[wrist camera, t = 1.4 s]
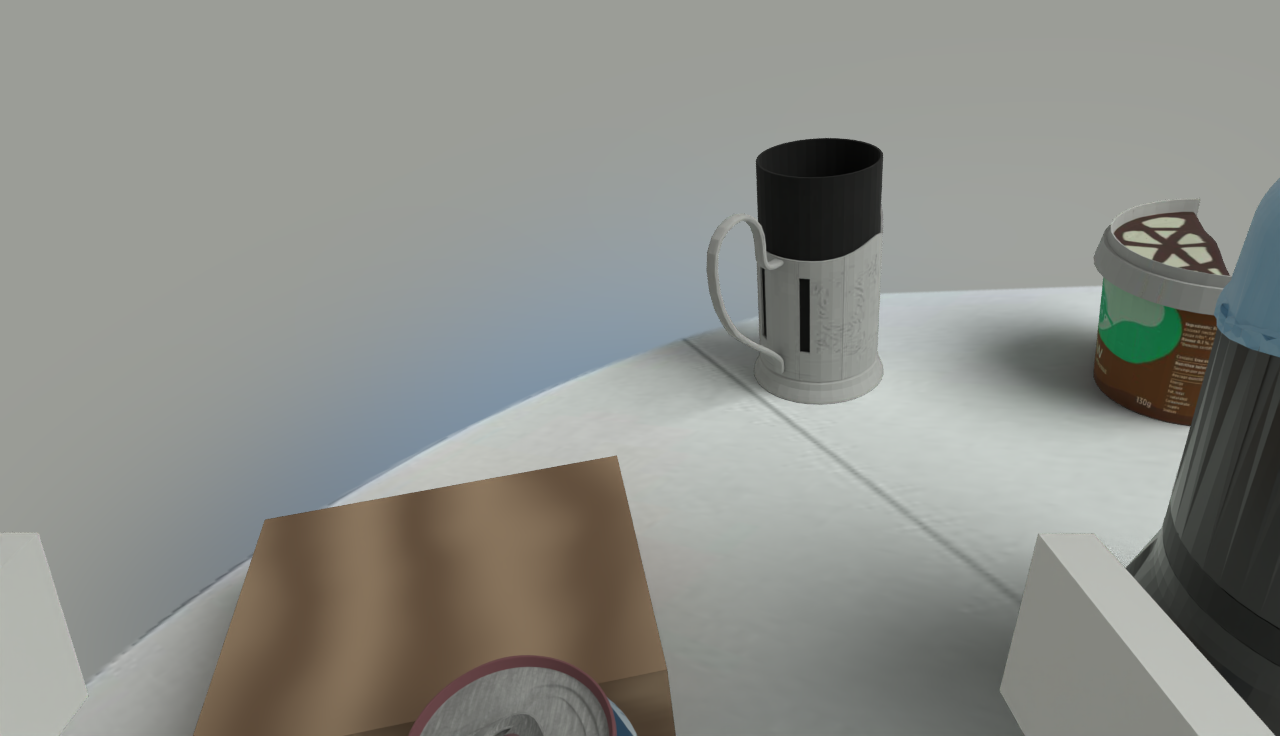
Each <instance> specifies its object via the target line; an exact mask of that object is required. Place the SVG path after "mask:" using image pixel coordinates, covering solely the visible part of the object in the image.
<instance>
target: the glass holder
mask: <svg viewBox="0 0 1280 736" xmlns="http://www.w3.org/2000/svg"><path fill="white" fill-rule="evenodd" d="M882 169H883V153H882V151H881V150H880V149H879V148H877V147H876V146H874V145H871V144H869V143H865V142H861V141H856V140H849V139H838V138H821V139H820V138H819V139H806V140H799V141H793V142H788V143H784V144H781V145H777V146H774V147H772V148H769V149H767V150H765V151H764V152H762V153H761V154H760V155H759V156H758V157H757V159H756V173H757V174H756V175H757V203H758V221H757V220H756V219H755V218H753V217H751V216H749V215H746V214H734V215H732V216H730V217H728V218H727V219H725V220H724V221H723V222H722V223H721V224H720V225H719V226H718V227H717V229H716V231H715V232H714V234H713V236H712V238H711V241H710V244H709V248H708V252H707V277H708V285H709V292H710V296H711V299H712V302H713V306H714V309H715V311H716V313H717V315H718V317H719V319H720V321H721V323H722V325H723V326H724V328H725V329H726V331H727V332H728V333H729V335H731V336H732V337H734V338H735V339H736V340H738V341H740V342H742V343H744V344H746V345H747V346H749V347H751V348H753V349H755V350H758V351H760V354H759V357H758V358H757V360H756V363H755V367H754V373H755V377H756V379H757V381H758V383H759V384H760V385H761V386H762V387H763V388H764V389H765V390H767V391H768V392H770V393H772V394H774V395H775V396H778V397H780V398H783V399H786V400H790V401H794V402H798V403H806V404H833V403H839V402H845V401H849V400H852V399H856V398H858V397H860V396H863V395H865V394H867V393H868V392H870V391H872V390H873V389H874V388H875V387H876V386H877V385H878V384H879V382H880V381H881V380H882V376H883V365H882V362H881V360H880V357H879V356H878V351H877V348H878V326H879V304H880V280H881V259H882V237H883V236H882V235H883V212H882V205H881V192H882ZM740 221H745V222H746V223H747V224H748V225H749V226H750V228H751V231H752V233H753V238H754V244H755V256H756V261H757V282H758V310H759V337H760V345H759V344H757V343H755V342H753V341H751V340H750V339H748V338H747V337H745V336H744V335H742V334H741V333H740V332H739V331H738V330H737V328H736V327H735V326H734V324H733V323H732V321H731V319H730V317H729V315H728V313H727V311H726V309H725V306H724V302H723V299H722V296H721V292H720V284H719V276H718V255H719V251H720V247H721V244H722V241H723V239H724V238H725V236H726V234H727V233H728V231H729V230H730V229H731V228H732V227H733V226H734V225H736V224H737V223H739V222H740Z"/></svg>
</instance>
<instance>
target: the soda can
mask: <svg viewBox="0 0 1280 736" xmlns="http://www.w3.org/2000/svg"><path fill="white" fill-rule="evenodd" d="M408 736H637V734H636V732H635V730H634V728H633V726H632V724H631V723H630V721H629V720H628V718H627V717H626V716H625V714H624V713H623V712H622V711H621V710H620V709H619V708H618V706H617V705H616V704H614V703H613V702H612V701H611V700H610V699H609V698H607V696H606V695H605V693H604V691H603V690H602V689H601V687H600V686H599V685H598V684H597V682H596V681H595V680H594V679H593V678H591V677H590V676H589V675H588V674H587V673H585V672H584V671H583V670H581V669H579V668H578V667H576V666H574V665H572V664H570V663H567V662H565V661H562V660H559V659H555V658H551V657H545V656H537V655H518V656H509V657H504V658H500V659H496V660H493V661H490V662H488V663H485V664H482V665H480V666H478V667H476V668H474V669H472V670H470V671H468V672H466V673H465V674H463V675H461V676H460V677H458V678H456V679H455V680H454V681H452V682H451V683H449V684H448V685H447V686H446V687H444V688H443V689H442V690H441V691H440V692H439V693H438V694H437V695H436V696H435V697H434V698H433V699H432V700H431V701H430V702H429V703H428V704H427V705H426V707H425V708H424V709H423V711H422V712H421V713H420V715H419V716H418V718H417V719H416V721H415V723H414V724H413V726H412V728H411V730H410V732H409V735H408Z"/></svg>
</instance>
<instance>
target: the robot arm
mask: <svg viewBox="0 0 1280 736" xmlns="http://www.w3.org/2000/svg"><path fill="white" fill-rule="evenodd" d="M1214 316H1215V317H1216V319H1217V331H1216V335H1215V339H1214V342H1213V346H1212V350H1211V353H1210V357H1209V361H1208V364H1207V368H1206V372H1205V375H1204V379H1203V383H1202V386H1201V390H1200V394H1199V397H1198V401H1197V405H1196V408H1195V412H1194V416H1193V419H1192V423H1191V427H1190V430H1189V434H1188V438H1187V441H1186V445H1185V449H1184V452H1183V456H1182V459H1181V462H1180V466H1179V469H1178V473H1177V476H1176V479H1175V483H1174V486H1173V490H1172V495H1171V499H1170V502H1169V506H1168V509H1167V513H1166V516H1165V518H1164V522H1163V526H1162V528H1161V529H1160V530H1159V532H1158V533H1157V534H1156V535H1155V536H1154V537H1153V538H1152V539H1151V541H1150V542H1149V543H1148V544H1147V545H1146V546H1145V547H1144V548H1143V549H1142V550H1141V552H1140V553H1139V554H1138V555H1137V556H1136V557H1135V558H1134V559H1133V560H1132V562H1131V563H1130V564H1129V565H1128V566H1127V567H1126V568H1125V567H1124V566H1123V565H1122V564H1121V563H1120V562H1119V561H1118V560H1117V559H1116V557H1115V556H1114V555H1113V554H1112V553H1111V552H1110V551H1109V550H1108V549H1107V547H1106V546H1105V545H1104V544H1103V543H1102V542H1101V541H1100V540H1099V539H1098V537H1097V536H1096V535H1095V534H1038V537H1037V541H1036V545H1035V549H1034V553H1033V557H1032V561H1031V565H1030V569H1029V573H1028V577H1027V581H1026V585H1025V589H1024V593H1023V597H1022V601H1021V605H1020V609H1019V613H1018V618H1017V622H1016V626H1015V630H1014V634H1013V638H1012V642H1011V646H1010V650H1009V654H1008V658H1007V662H1006V666H1005V670H1004V674H1003V678H1002V682H1001V686H1000V690H999V691H1000V692H1001V694H1002V696H1003V698H1004V700H1005V701H1006V703H1007V705H1008V707H1009V709H1010V710H1011V712H1012V714H1013V716H1014V718H1015V719H1016V721H1017V723H1018V725H1019V727H1020V728H1021V730H1022V732H1023V734H1024V735H1025V736H1280V178H1279V179H1278V180H1277V181H1276V182H1275V183H1274V184H1273V186H1272V187H1271V188H1270V189H1269V190H1268V192H1267V193H1266V194H1265V196H1264V197H1263V199H1262V200H1261V202H1260V204H1259V206H1258V208H1257V210H1256V212H1255V214H1254V217H1253V220H1252V223H1251V225H1250V228H1249V231H1248V234H1247V237H1246V240H1245V242H1244V245H1243V248H1242V250H1241V254H1240V256H1239V259H1238V262H1237V264H1236V267H1235V270H1234V273H1233V275H1232V278H1231V281H1230V282H1229V283H1228V284H1227V285H1226V286H1225V287H1224V289H1223V290H1222V292H1221V293H1220V295H1219V297H1218V299H1217V302H1216V307H1215V312H1214ZM88 696H89V695H88V692H87V689H86V685H85V682H84V679H83V676H82V672H81V669H80V666H79V663H78V659H77V657H76V653H75V650H74V647H73V643H72V641H71V637H70V634H69V630H68V627H67V624H66V621H65V618H64V614H63V611H62V608H61V604H60V601H59V598H58V595H57V591H56V588H55V585H54V582H53V579H52V575H51V572H50V569H49V566H48V562H47V559H46V556H45V553H44V549H43V546H42V543H41V540H40V536H39V533H0V736H59V735H60V734H61V732H62V731H63V730H64V728H65V727H66V726H67V724H68V723H69V722H70V720H71V719H72V718H73V716H74V715H75V714H76V712H77V711H78V710H79V708H80V707H81V706H82V704H83V703H84V702H85V700H86V699H87V698H88Z"/></svg>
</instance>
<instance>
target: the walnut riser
mask: <svg viewBox="0 0 1280 736" xmlns="http://www.w3.org/2000/svg"><path fill="white" fill-rule="evenodd" d="M518 655H537V656H545V657H551V658H555V659H559V660H562V661H565V662H567V663H570V664H572V665H574V666H576V667H578V668H579V669H581V670H583V671H584V672H585V673H587V674H588V675H589V676H590V677H591V678H593V679H594V680H595V681H596V682H597V684H598V685H599V686H600V687H601V689H602V690H603V691H604V693H605V695H606V696H607V698H609V699H610V700H611V701H612V702H613V703H614V704H616V705H617V706H618V708H619V709H620V710H621V711H622V712H623V713H624V714H625V716H626V717H627V718H628V720H629V721H630V723H631V724H632V726H633V728H634V730H635V732H636V734H637V736H676V734H675V726H674V719H673V711H672V703H671V696H670V688H669V680H668V673H667V667H666V663H665V658H664V654H663V650H662V646H661V641H660V637H659V633H658V629H657V624H656V620H655V616H654V612H653V607H652V603H651V599H650V595H649V590H648V586H647V582H646V578H645V573H644V569H643V565H642V561H641V556H640V552H639V548H638V544H637V539H636V535H635V531H634V527H633V522H632V518H631V514H630V510H629V505H628V501H627V497H626V493H625V488H624V484H623V480H622V476H621V471H620V467H619V463H618V459H617V456H612V457H606V458H601V459H595V460H590V461H584V462H579V463H573V464H568V465H562V466H557V467H551V468H546V469H540V470H535V471H529V472H524V473H518V474H513V475H507V476H502V477H496V478H491V479H485V480H480V481H474V482H469V483H463V484H458V485H452V486H447V487H442V488H436V489H431V490H425V491H420V492H414V493H409V494H403V495H398V496H392V497H387V498H381V499H376V500H370V501H365V502H359V503H354V504H348V505H343V506H337V507H332V508H326V509H321V510H315V511H310V512H305V513H299V514H293V515H288V516H282V517H277V518H271V519H266V520H265V521H264V524H263V527H262V530H261V533H260V536H259V539H258V542H257V545H256V549H255V551H254V554H253V557H252V560H251V563H250V566H249V569H248V572H247V575H246V578H245V581H244V584H243V587H242V590H241V593H240V596H239V599H238V602H237V605H236V608H235V611H234V614H233V617H232V620H231V623H230V626H229V629H228V632H227V635H226V638H225V641H224V644H223V647H222V650H221V653H220V656H219V659H218V662H217V665H216V668H215V671H214V674H213V677H212V680H211V683H210V686H209V689H208V692H207V695H206V698H205V701H204V704H203V707H202V710H201V713H200V716H199V719H198V722H197V725H196V728H195V731H194V734H193V736H408V735H409V732H410V730H411V728H412V726H413V724H414V723H415V721H416V719H417V718H418V716H419V715H420V713H421V712H422V711H423V709H424V708H425V707H426V705H427V704H428V703H429V702H430V701H431V700H432V699H433V698H434V697H435V696H436V695H437V694H438V693H439V692H440V691H441V690H442V689H443V688H444V687H446V686H447V685H448V684H449V683H451V682H452V681H454V680H455V679H456V678H458V677H460V676H461V675H463V674H465V673H466V672H468V671H470V670H472V669H474V668H476V667H478V666H480V665H482V664H485V663H488V662H490V661H493V660H496V659H500V658H504V657H509V656H518Z"/></svg>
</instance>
